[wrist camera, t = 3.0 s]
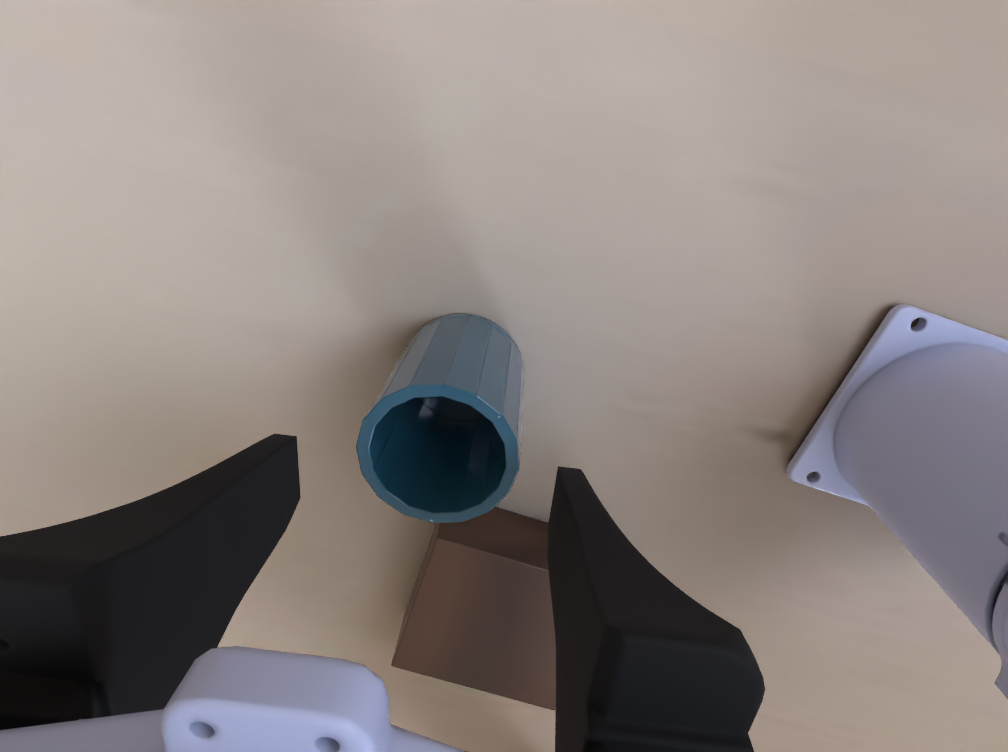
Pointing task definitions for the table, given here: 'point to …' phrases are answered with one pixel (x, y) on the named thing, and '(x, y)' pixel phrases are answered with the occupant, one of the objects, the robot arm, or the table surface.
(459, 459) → the small cup
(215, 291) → the table surface
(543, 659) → the walnut block
